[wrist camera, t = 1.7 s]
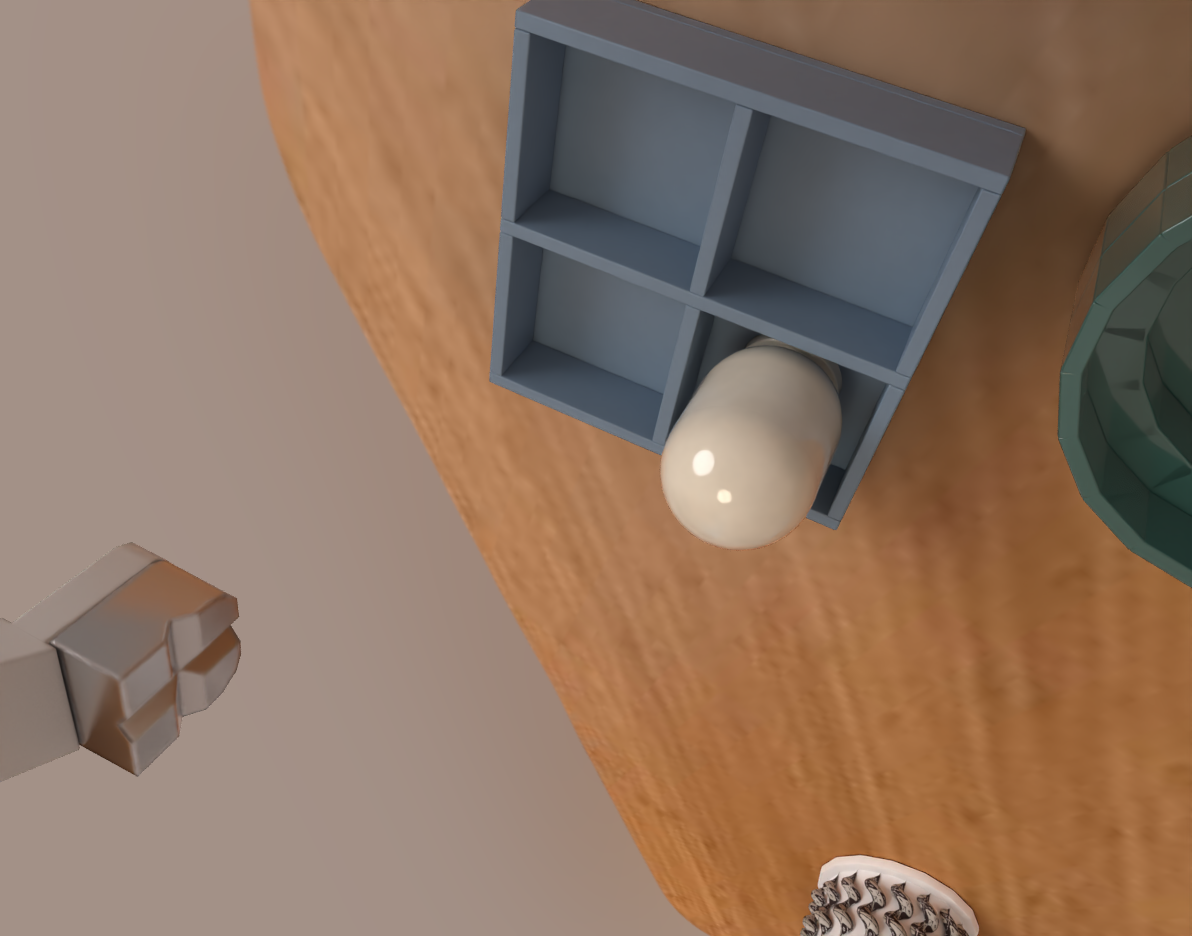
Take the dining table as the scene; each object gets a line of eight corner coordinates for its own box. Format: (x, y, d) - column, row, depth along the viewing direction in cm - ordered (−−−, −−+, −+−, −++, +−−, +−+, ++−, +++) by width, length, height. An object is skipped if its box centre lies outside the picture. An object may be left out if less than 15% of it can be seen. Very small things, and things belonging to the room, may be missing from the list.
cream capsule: (711, 312, 33) (618, 451, 28) (854, 314, 31) (781, 465, 26) (734, 427, 36) (654, 571, 31) (867, 436, 33) (803, 594, 28)
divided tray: (564, -24, 28) (515, 9, 26) (1027, 128, 25) (1010, 177, 23) (526, 338, 38) (488, 382, 36) (858, 475, 35) (836, 531, 33)
